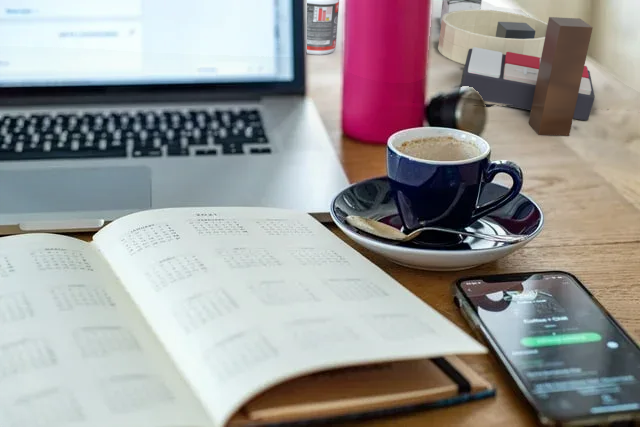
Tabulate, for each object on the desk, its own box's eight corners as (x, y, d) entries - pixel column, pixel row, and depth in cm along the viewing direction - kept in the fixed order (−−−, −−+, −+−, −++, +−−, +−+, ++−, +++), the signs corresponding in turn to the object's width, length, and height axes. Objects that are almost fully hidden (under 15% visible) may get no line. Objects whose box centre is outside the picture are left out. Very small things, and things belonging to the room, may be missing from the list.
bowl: (528, 46, 127) (534, 12, 125) (564, 79, 114) (572, 42, 112) (427, 42, 125) (431, 7, 123) (452, 75, 112) (457, 36, 110)
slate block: (521, 51, 122) (526, 22, 120) (530, 60, 118) (535, 30, 116) (493, 50, 121) (497, 21, 119) (501, 58, 118) (506, 29, 116)
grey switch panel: (597, 91, 99) (464, 66, 101) (587, 126, 101) (456, 101, 103) (591, 63, 108) (470, 41, 110) (582, 96, 110) (463, 74, 112)
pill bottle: (341, 54, 117) (348, -21, 112) (301, 56, 115) (307, -21, 110) (325, 42, 121) (331, -31, 117) (286, 44, 119) (291, -31, 115)
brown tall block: (558, 124, 99) (580, 18, 94) (569, 135, 96) (593, 27, 90) (528, 123, 98) (548, 16, 93) (538, 134, 95) (560, 25, 90)
